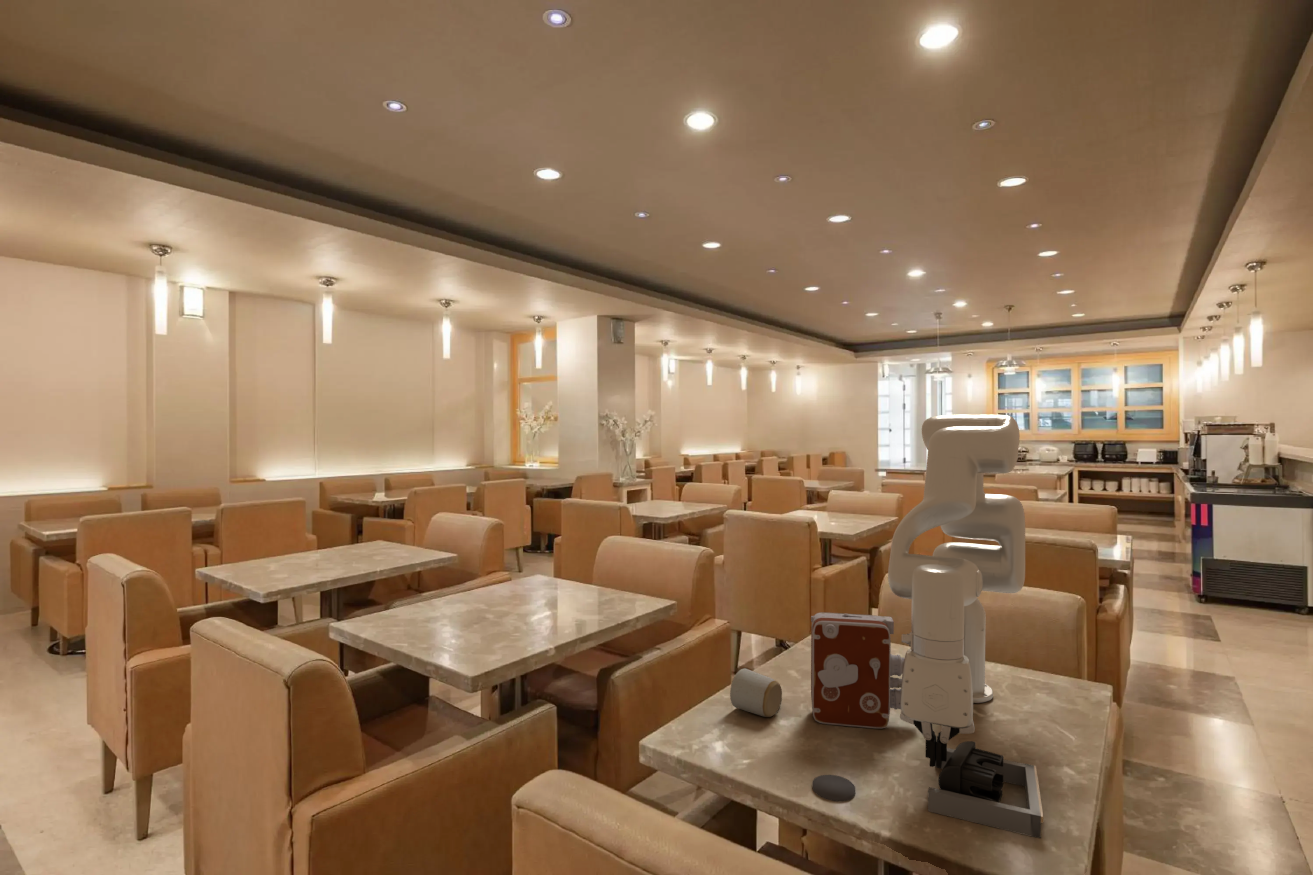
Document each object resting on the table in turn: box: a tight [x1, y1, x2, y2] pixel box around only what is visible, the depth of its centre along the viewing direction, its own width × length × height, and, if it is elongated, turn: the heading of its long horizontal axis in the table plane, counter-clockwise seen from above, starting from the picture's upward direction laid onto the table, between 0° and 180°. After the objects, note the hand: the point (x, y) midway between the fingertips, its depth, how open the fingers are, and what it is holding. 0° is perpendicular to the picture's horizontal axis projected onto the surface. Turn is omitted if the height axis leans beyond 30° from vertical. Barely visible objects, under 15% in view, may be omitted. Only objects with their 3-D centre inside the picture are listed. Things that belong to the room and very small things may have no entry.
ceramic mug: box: [729, 668, 783, 718], centre depth 132 cm, size 11×8×8 cm
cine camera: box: [810, 611, 905, 729], centre depth 126 cm, size 9×19×20 cm, turn 78°
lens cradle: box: [927, 747, 1044, 839], centre depth 100 cm, size 15×14×3 cm
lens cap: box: [811, 774, 856, 802], centre depth 102 cm, size 6×6×1 cm
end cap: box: [938, 740, 1004, 803], centre depth 100 cm, size 10×7×7 cm
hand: (936, 763), depth 103 cm, fingers closed
